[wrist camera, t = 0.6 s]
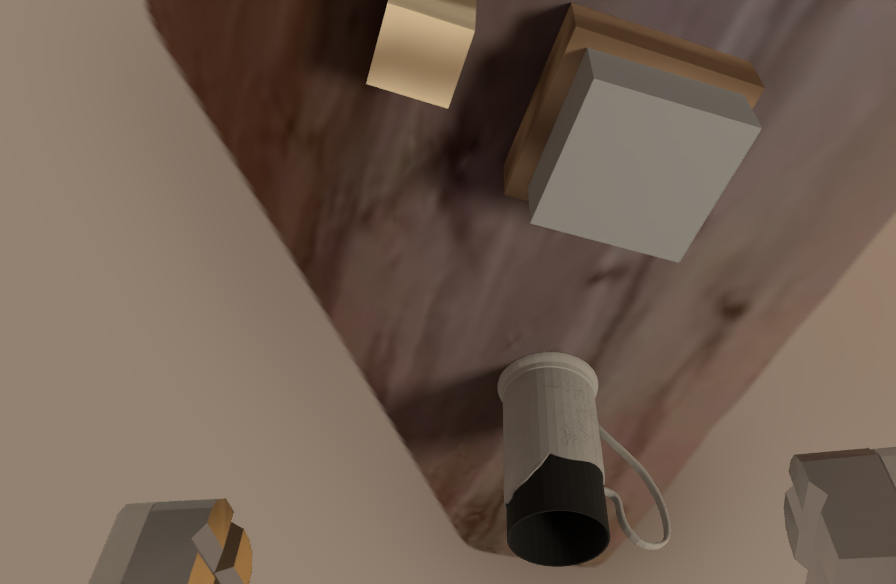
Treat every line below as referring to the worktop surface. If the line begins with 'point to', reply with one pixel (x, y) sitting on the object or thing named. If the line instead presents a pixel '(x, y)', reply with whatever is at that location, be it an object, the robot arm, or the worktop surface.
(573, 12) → the walnut base slab
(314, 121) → the worktop surface
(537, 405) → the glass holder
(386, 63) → the birch block
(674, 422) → the worktop surface
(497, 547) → the worktop surface
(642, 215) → the slate top slab
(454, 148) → the worktop surface
